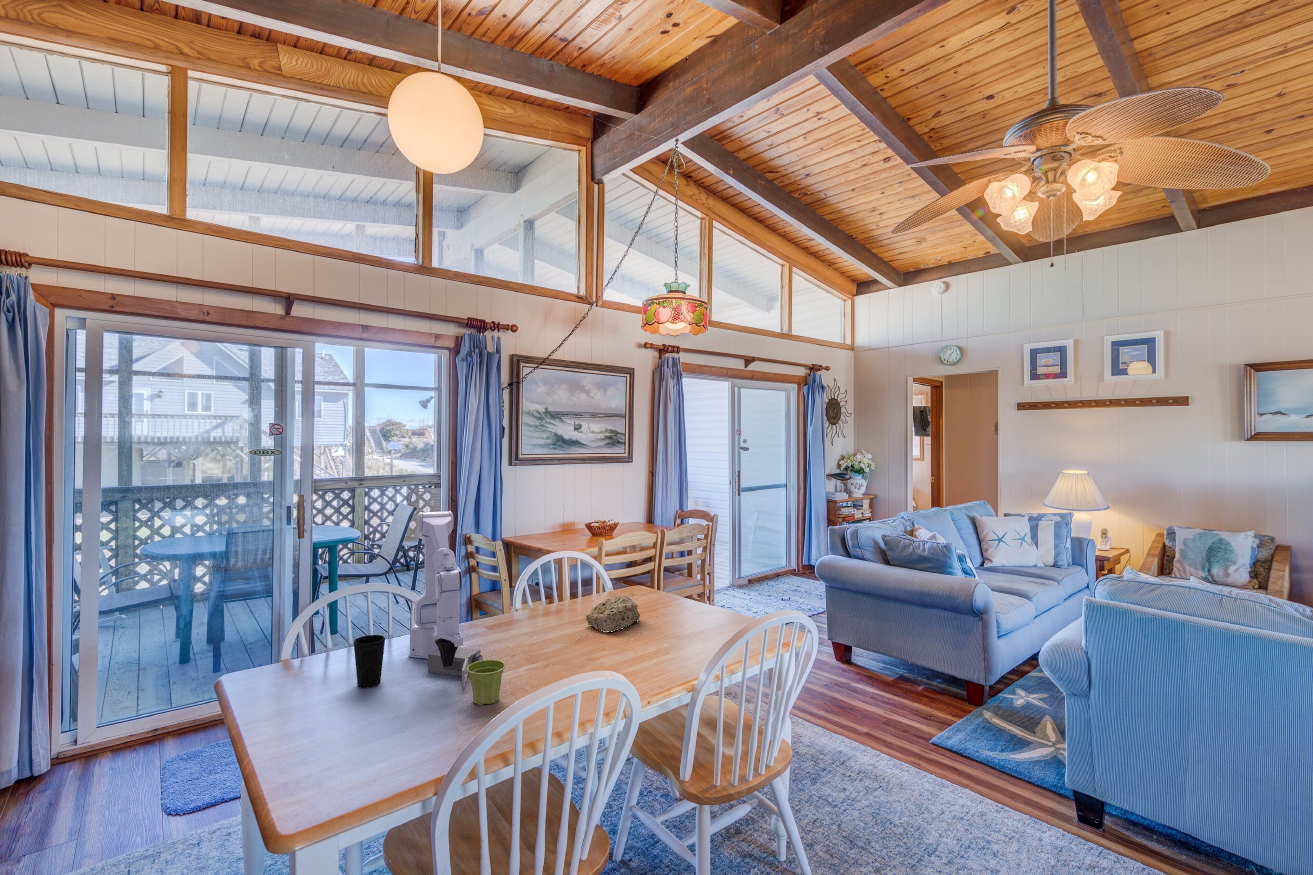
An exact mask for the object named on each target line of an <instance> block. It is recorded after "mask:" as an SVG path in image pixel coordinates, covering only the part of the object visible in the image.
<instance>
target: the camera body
mask: <svg viewBox="0 0 1313 875" xmlns="http://www.w3.org/2000/svg"><path fill="white" fill-rule="evenodd" d="M481 651H482V650H481V649H480V648H472V647H470V648H469V647H462V646H458V648H457V650H456V653H455V657H454V660H453V664H452V666H449V667H444V666H443V664H442V660H441V656H440V652H439V649H437V650H435V651H433V652H432V653H430V654H428V659H427V673H430V674H431V673H433V674H441V675H451V676H460V677H462V668H463V665H464V662H465V659H468V666H469V665H470V664H472V663H474V662H477V661H482V660H484V658H483V655H482V654H481ZM468 676H469V672H468Z"/></svg>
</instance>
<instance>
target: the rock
mask: <svg viewBox="0 0 1313 875" xmlns="http://www.w3.org/2000/svg"><path fill="white" fill-rule="evenodd" d="M638 607H639V605H638V604H637V603H636V602H635V601H634V600H633V599H632V598H630V597H629V596H625V595H619V596H614V597H612V598H607V599H606V600H605V601H604V602H603V601H602V602H600V603H598V604H596V605H595V606H593V607H591V610H590V611H589V613H587V614H585V620H586V622H587V625H588V626H592V627H593V628H594V629H595V630H598V629H599V630H598V631H600V630H602V631H609V632H611V631H614V630H617V629H621V628H624V627H625V628H628V627H630V626H632V625H633V623H635V622H634V621H637V620H638V619H639V620H640V617H641V614H640V612H639V611H638ZM639 620H638V621H639ZM631 624H632V625H631ZM629 625H630V626H629ZM627 626H628V627H627ZM625 628H624V629H625Z"/></svg>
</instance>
